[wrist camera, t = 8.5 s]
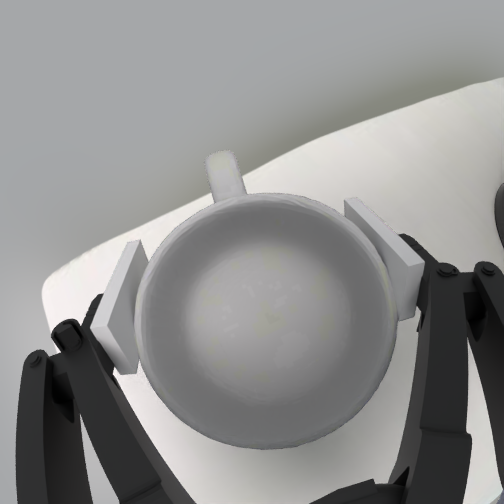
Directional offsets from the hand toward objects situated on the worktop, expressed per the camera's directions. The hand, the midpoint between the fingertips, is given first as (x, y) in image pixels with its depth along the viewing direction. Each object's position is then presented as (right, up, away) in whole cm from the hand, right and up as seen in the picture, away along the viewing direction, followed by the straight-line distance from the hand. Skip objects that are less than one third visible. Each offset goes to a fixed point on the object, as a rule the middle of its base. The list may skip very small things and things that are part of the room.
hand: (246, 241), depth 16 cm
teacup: (+1, -4, +4) cm, 5 cm away
